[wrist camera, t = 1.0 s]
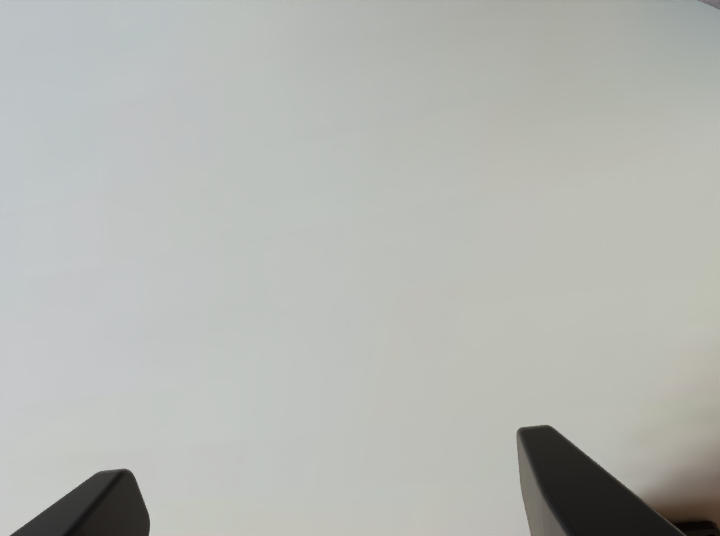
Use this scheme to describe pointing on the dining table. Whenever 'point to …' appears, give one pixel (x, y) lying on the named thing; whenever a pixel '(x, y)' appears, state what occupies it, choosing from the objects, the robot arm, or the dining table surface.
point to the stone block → (712, 3)
